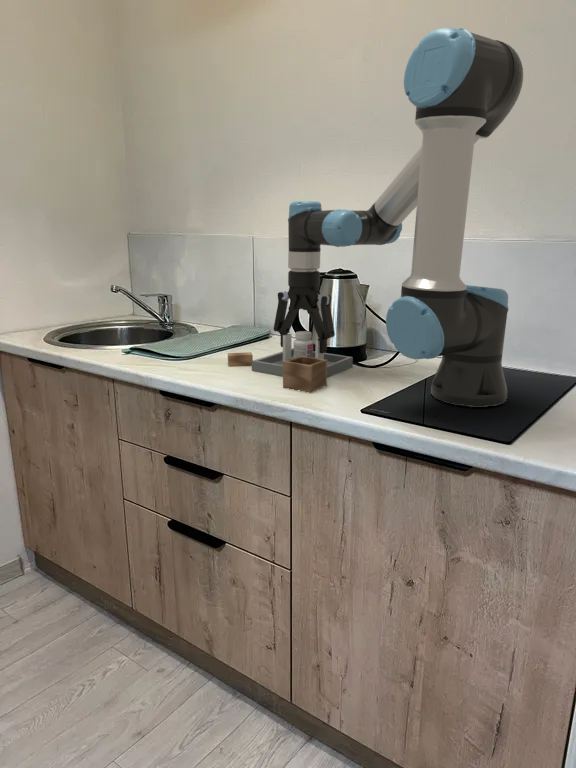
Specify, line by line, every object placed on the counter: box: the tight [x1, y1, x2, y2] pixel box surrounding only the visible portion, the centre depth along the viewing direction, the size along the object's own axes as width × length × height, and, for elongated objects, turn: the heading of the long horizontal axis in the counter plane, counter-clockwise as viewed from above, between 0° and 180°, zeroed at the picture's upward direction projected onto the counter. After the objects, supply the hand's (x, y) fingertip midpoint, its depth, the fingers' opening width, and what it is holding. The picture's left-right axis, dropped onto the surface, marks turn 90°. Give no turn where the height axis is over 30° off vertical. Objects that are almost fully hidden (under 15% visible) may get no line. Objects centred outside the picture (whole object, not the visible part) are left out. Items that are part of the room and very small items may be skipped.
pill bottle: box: [293, 330, 314, 358], centre depth 140 cm, size 5×5×8 cm
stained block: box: [227, 351, 254, 368], centre depth 145 cm, size 6×3×3 cm, turn 100°
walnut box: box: [282, 356, 328, 394], centre depth 126 cm, size 7×7×6 cm
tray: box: [251, 347, 354, 378], centre depth 141 cm, size 18×18×2 cm
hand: (302, 362), depth 141 cm, fingers open, 9 cm apart
